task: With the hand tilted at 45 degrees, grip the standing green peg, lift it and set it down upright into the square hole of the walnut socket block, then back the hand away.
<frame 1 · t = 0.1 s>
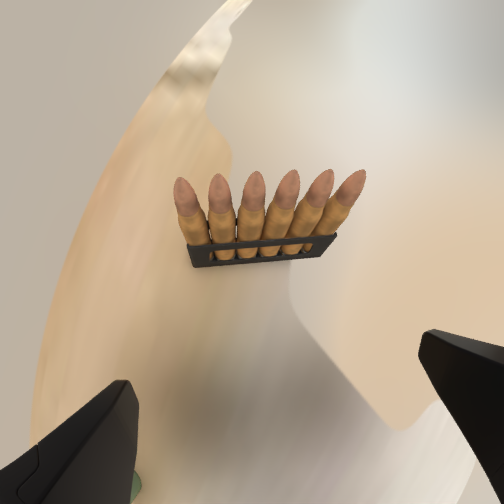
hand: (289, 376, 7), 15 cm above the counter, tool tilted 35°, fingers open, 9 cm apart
ammunition clip: (257, 252, 24), on the counter
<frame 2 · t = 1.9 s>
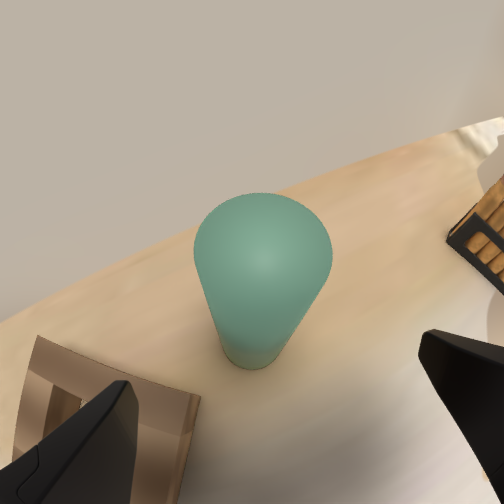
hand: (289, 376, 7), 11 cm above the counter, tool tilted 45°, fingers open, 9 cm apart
socket block: (109, 442, 15), on the counter
ammunition clip: (481, 268, 23), on the counter
peg: (252, 341, 19), on the counter
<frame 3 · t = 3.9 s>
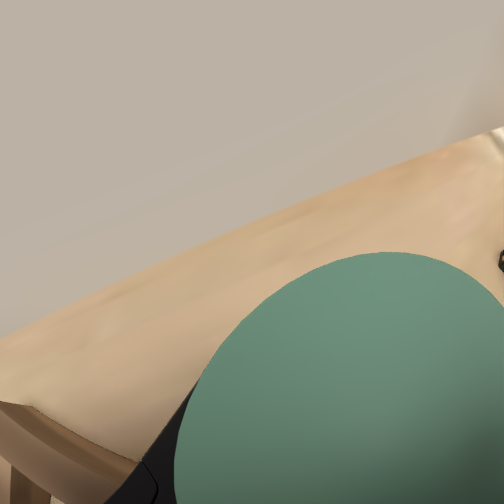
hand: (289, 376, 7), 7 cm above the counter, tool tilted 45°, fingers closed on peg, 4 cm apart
peg: (273, 415, 13), on the counter, touching gripper
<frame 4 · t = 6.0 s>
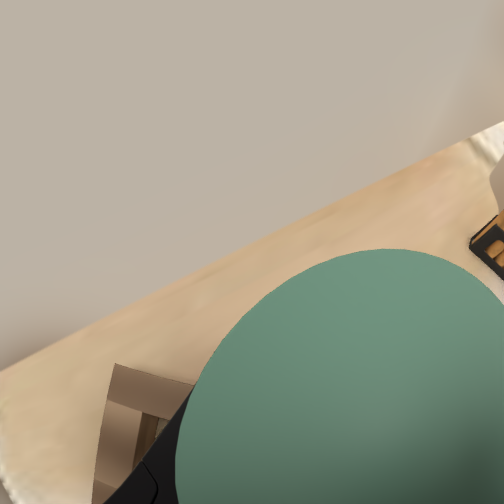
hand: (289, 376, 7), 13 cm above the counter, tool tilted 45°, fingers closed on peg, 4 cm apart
socket block: (192, 457, 16), on the counter
ammunition clip: (497, 270, 25), on the counter
peg: (274, 414, 13), point 7 cm above the counter, touching gripper
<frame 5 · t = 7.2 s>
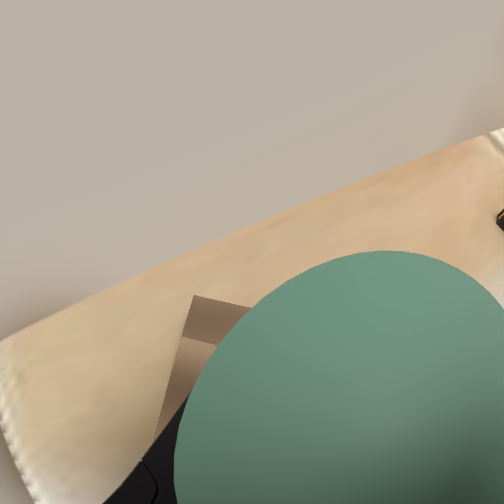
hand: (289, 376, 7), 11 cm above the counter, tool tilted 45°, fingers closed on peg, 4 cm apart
socket block: (264, 410, 17), on the counter
peg: (273, 415, 13), point 5 cm above the counter, touching gripper
when the fingers open (8 cm above the counter, at t = 8.3 s): peg stays where it is, resting in socket block.
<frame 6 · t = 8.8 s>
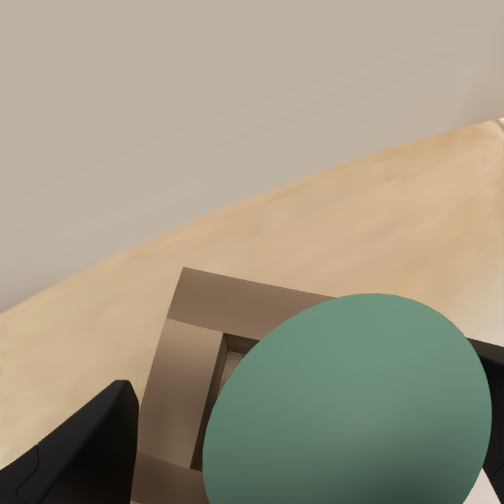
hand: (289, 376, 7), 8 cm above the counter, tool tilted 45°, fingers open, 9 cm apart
socket block: (271, 414, 13), on the counter
peg: (272, 415, 13), resting in socket block
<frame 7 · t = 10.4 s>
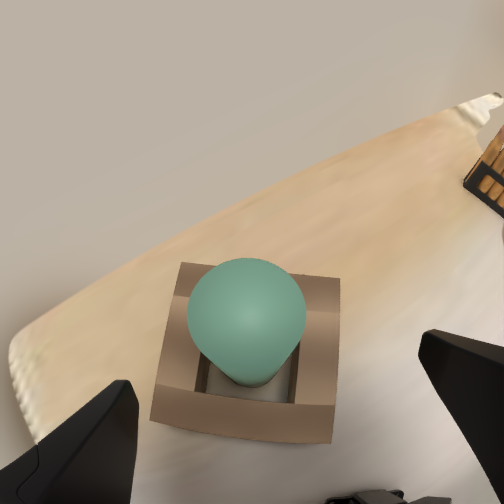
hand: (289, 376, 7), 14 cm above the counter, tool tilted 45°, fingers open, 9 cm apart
socket block: (250, 360, 20), on the counter
ammunition clip: (491, 205, 28), on the counter
peg: (251, 361, 20), resting in socket block
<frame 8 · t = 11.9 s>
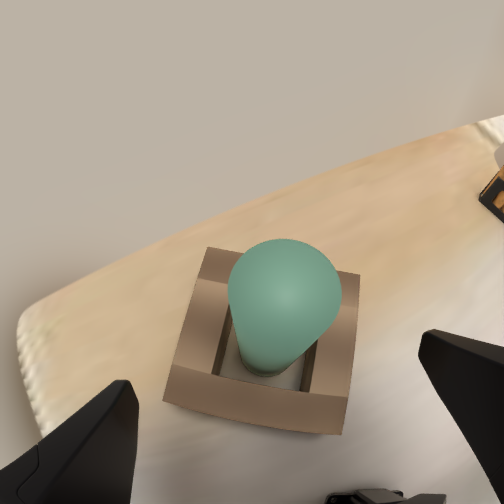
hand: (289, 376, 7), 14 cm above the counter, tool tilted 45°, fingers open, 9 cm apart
socket block: (266, 349, 21), on the counter
peg: (267, 350, 21), resting in socket block
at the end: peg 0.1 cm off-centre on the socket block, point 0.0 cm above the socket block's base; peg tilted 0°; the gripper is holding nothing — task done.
